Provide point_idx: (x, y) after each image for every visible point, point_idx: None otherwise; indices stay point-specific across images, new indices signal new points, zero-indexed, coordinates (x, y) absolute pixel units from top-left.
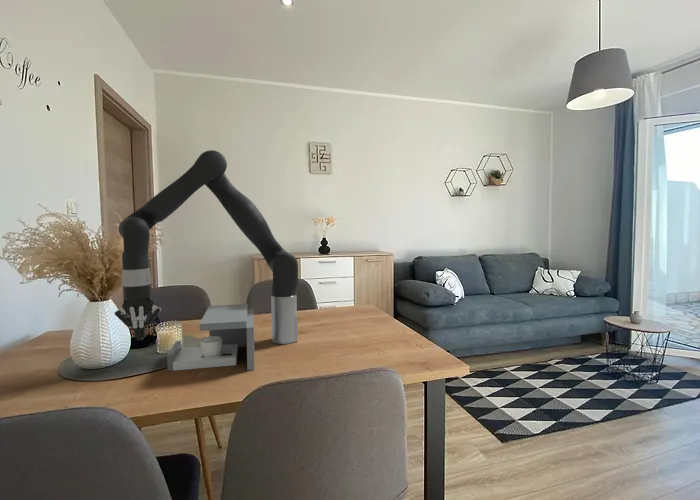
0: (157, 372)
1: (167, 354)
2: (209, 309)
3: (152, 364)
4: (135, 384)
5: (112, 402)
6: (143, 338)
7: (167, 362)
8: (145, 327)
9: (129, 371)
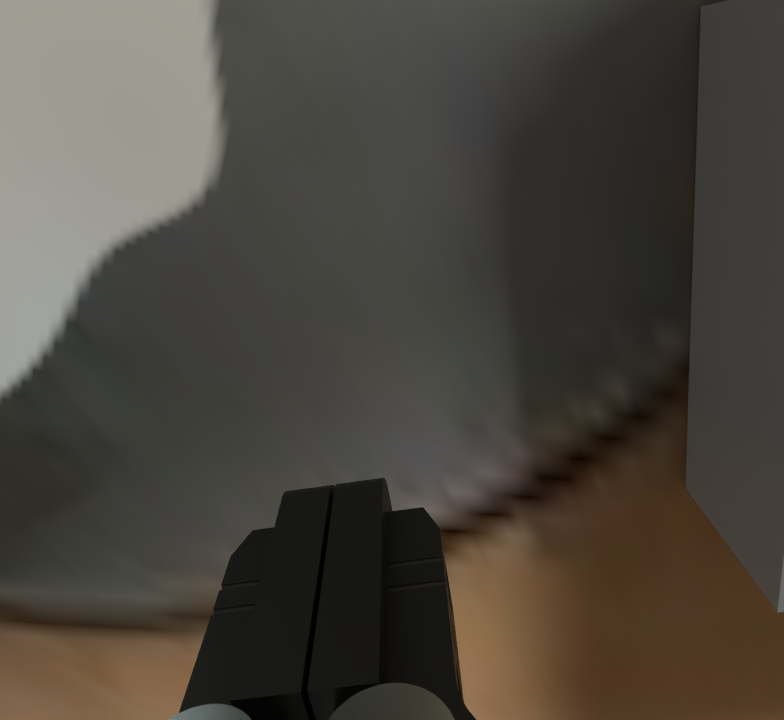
0: (595, 506)
1: (780, 605)
2: None
3: (471, 303)
4: (495, 692)
5: None
6: (388, 493)
7: (728, 544)
8: (455, 677)
9: (313, 466)
